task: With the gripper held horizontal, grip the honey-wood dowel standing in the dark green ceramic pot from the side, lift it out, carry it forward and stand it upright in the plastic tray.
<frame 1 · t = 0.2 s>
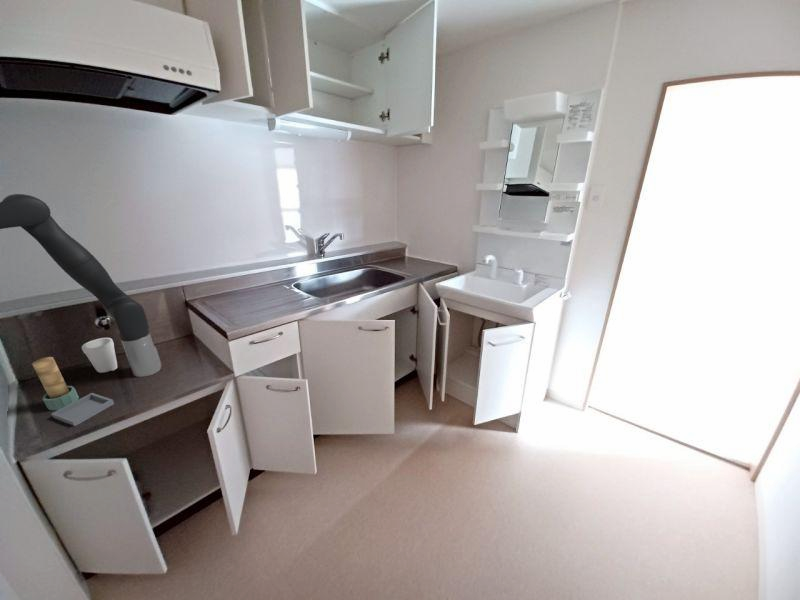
wooden dowel: (63, 402, 113), point 1 cm above the worktop, touching holder pot
holder pot: (64, 403, 113), on the worktop
tray: (85, 411, 109), on the worktop
foam cup: (108, 369, 133), on the worktop
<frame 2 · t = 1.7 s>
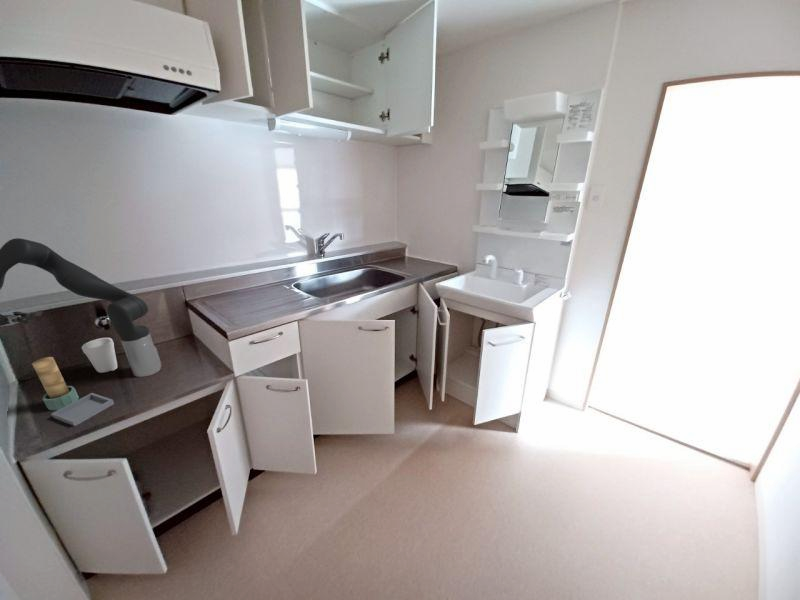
hand: (8, 326, 104), 30 cm above the worktop, tool horizontal, fingers open, 8 cm apart
nothing on the worktop moved.
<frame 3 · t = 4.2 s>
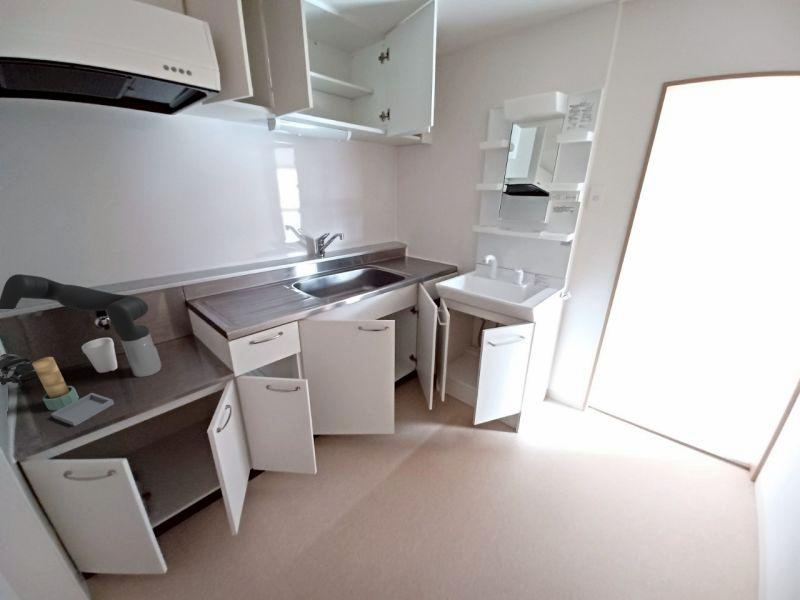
hand: (36, 373, 111), 11 cm above the worktop, tool horizontal, fingers open, 8 cm apart
nothing on the worktop moved.
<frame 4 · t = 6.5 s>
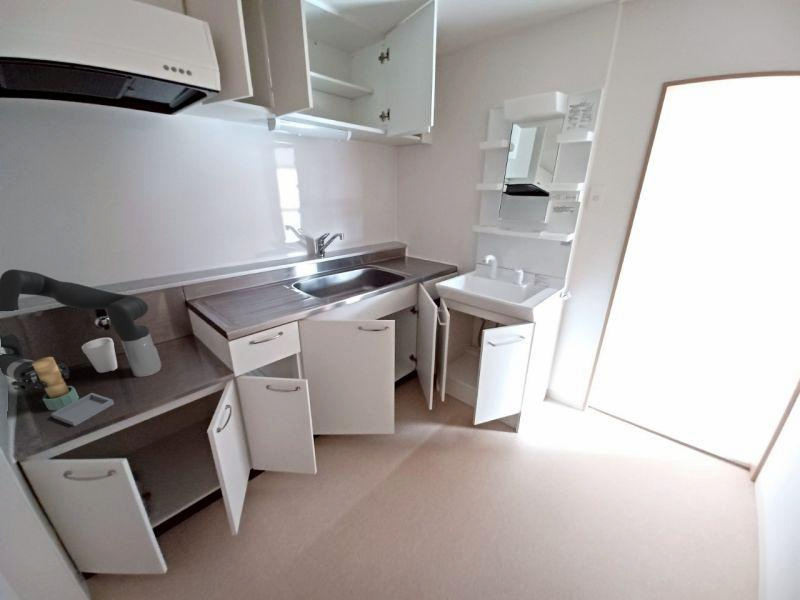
hand: (56, 380, 108), 11 cm above the worktop, tool horizontal, fingers closed on wooden dowel, 5 cm apart
wooden dowel: (63, 402, 113), point 1 cm above the worktop, touching gripper, holder pot
everything else where it was.
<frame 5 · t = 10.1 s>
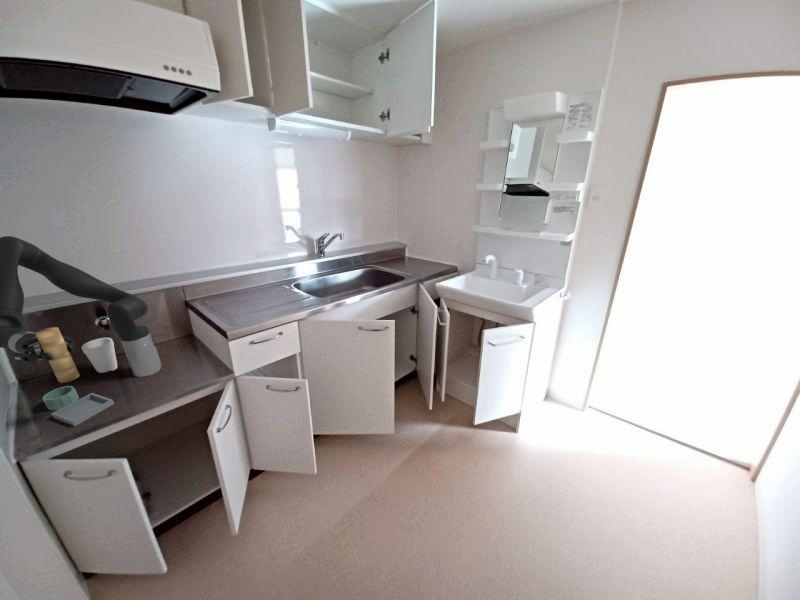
hand: (61, 353, 99), 25 cm above the worktop, tool horizontal, fingers closed on wooden dowel, 5 cm apart
wooden dowel: (69, 378, 104), point 14 cm above the worktop, touching gripper
everything else where it was.
when the fingers open (13 cm above the worktop, at t = 13.4 s): wooden dowel drops 1 cm, resting on tray.
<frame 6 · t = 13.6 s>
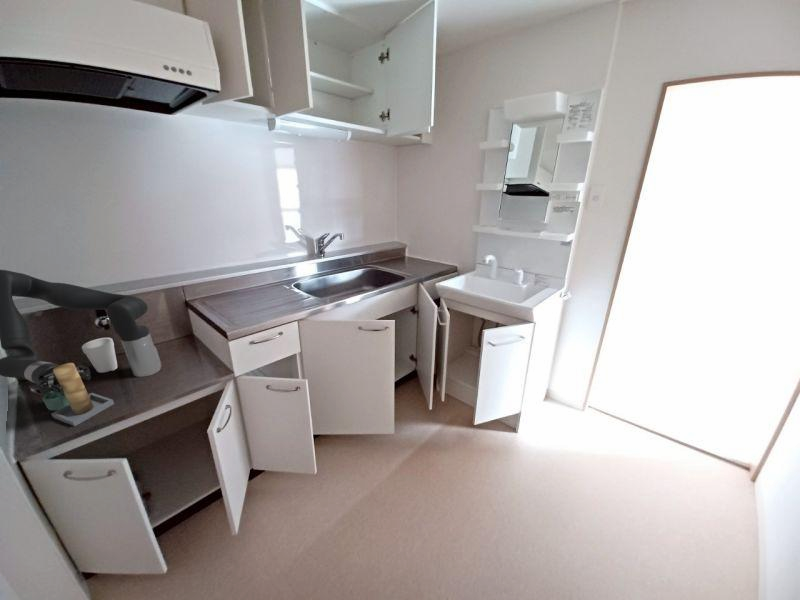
hand: (75, 383, 104), 13 cm above the worktop, tool horizontal, fingers open, 6 cm apart
wooden dowel: (84, 409, 109), point 1 cm above the worktop, touching tray
everything else where it was.
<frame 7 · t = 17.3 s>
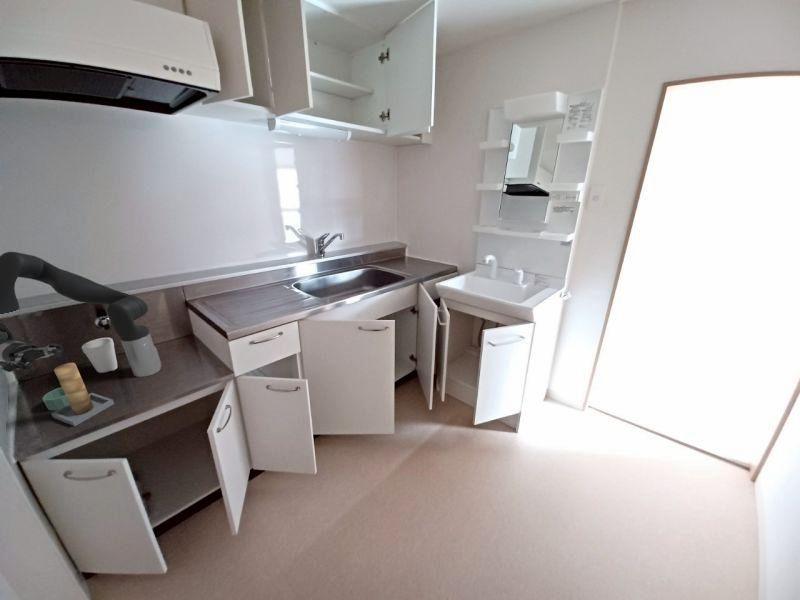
hand: (44, 360, 105), 19 cm above the worktop, tool horizontal, fingers open, 8 cm apart
nothing on the worktop moved.
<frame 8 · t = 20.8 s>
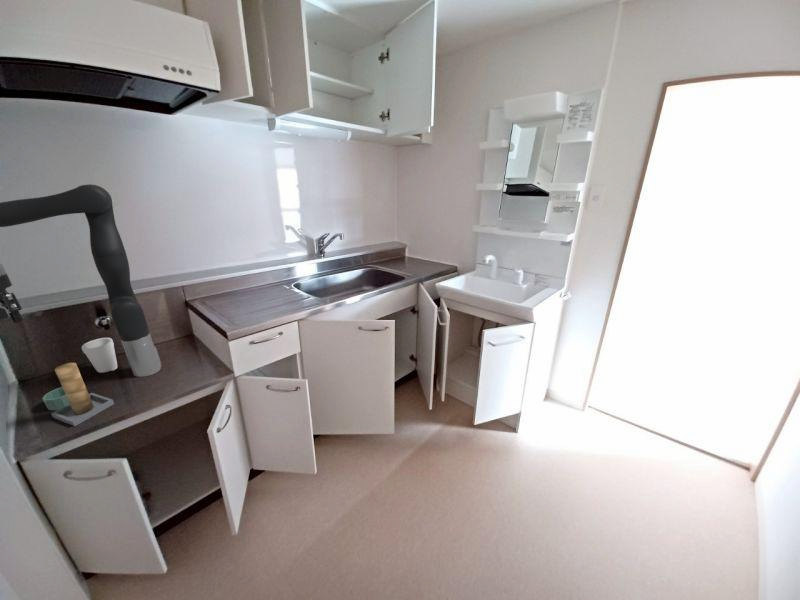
hand: (11, 320, 104), 32 cm above the worktop, tool pointing down, fingers open, 8 cm apart
nothing on the worktop moved.
at the end: wooden dowel inside the target area on the tray (0.1 cm from its centre), point 0.8 cm above the tray's base; wooden dowel tilted 1°; the gripper is holding nothing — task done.
